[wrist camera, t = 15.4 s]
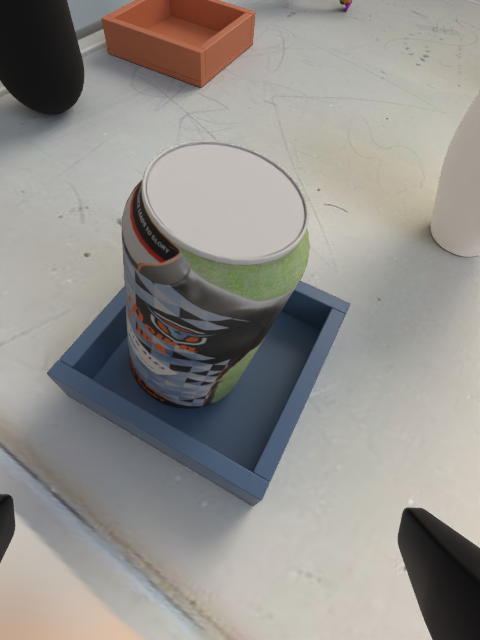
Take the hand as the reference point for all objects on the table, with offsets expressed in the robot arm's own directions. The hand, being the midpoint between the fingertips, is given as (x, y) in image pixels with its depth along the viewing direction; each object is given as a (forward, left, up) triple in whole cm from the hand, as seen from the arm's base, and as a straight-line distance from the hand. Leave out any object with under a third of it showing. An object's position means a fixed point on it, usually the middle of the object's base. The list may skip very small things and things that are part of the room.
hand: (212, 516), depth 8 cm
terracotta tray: (+37, +25, -10) cm, 46 cm away
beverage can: (+7, +4, -9) cm, 12 cm away
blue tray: (+7, +4, -10) cm, 13 cm away
